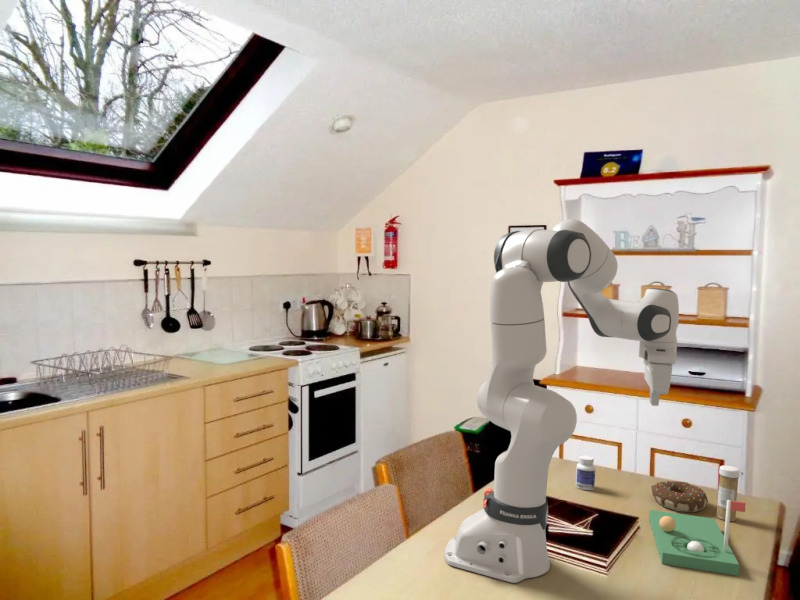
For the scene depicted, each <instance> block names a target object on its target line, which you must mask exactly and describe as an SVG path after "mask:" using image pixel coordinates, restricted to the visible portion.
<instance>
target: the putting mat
mask: <svg viewBox="0 0 800 600" xmlns="http://www.w3.org/2000/svg"><path fill="white" fill-rule="evenodd" d="M730 510H733V511H736V512H742V513H745V512H746V502H742V501H737V502H736V501H730V500H727V507H726V520H724V524H725V525H724V534H723V532H722V530H721V528H720V527H719V525H718V523H717V521H716V520H715V518H713V517H711V518H710V517H705V516H696V515H690V514H684V513H683V514H682V513H677V512H676V513H675V512H669V511H662V510H654V509H649V514H648V515H649V516H648V521H649V524H650V527H651V531H652V534H653V537H654V540H655V544H656V548H657V551H658V555H659V559H660V561H661V564H662V565H667V566H674V567H680V568H687V569H693V570H699V571H704V572H705V571H706V572H710V573H711V572H712V573H718V574H723V575H728V576H729V575H730V576H737V577H739V571H740V564H739V561H738V560H737V558H736V556H735V554H734V553H733V551H732V549H731V547H730V545H729V536H730V535H729V534H730V533H729V531H730V522H731V521H730ZM664 516H669V517H671V518H673V519H674V521H675V523H676V527H675V529H674V530H673V531H671V532H666V531H664V530H663V529H662V528H661V527H660V524H659V522H660V519H661V518H662V517H664ZM691 541H697V542H699V543H701V544H702V546H703V548H704V552H703V553H700V552H694V551H691V550H688V549H687V545H688V543H689V542H691Z"/></svg>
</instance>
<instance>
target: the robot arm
mask: <svg viewBox="0 0 800 600" xmlns="http://www.w3.org/2000/svg"><path fill="white" fill-rule="evenodd" d="M493 264H494V269H495V273H494V276H492V279H491V283H490V284H491V285H490V294H489V297H490V298H489V318H490V333H491V347H492V351H491V352H492V353H491V354H492V357H491V358H492V359H491V367H490V371H489V373H488V374H489V375H488V378H487V379H486V380H485V381H484V382H483V383H482V384H481V385H480V387H479V389H478V391H477V396H476V404H477V407H478V409H479V412H480V413H481V414H482V415H483V417H486V419H488V420H489V421H490V422H491V423H492V424H494V425H495V426H498V427H500V428H502V429H504V430H507V431H508V432H510V435H511V437H510V443H509V445H508V448H507V450H505V451H503V452H502V453H500V454H499V455H498V456H497V458H496V460H495V462H494V475H493V476H494V479H493V481H494V482H493V489H492V487H487V488H486V489H484V493H483V497H484V498H483V504H482V505H483V508H481V509H480V510H478V511H476V512H475V513H472V514H470V515H468V516H467V517H466V518H465V519H464V520H463V521H462V522H461V523H460V526H459V528H458V530H457V533H456V535H455V536H453V537H452V538H450V540H449V541H448V543H447V544H446V546H445V550H444V560H445V562H446V563H447V564H448V565H449V566H452V567H455V568H459V569H462V570H464V571H465V570H466V571H468V572H469V571H470V572H473V573H476V574H479V575H484V576H487V577H490V578H494V579H498V580H501V581H505V582H507V583H513V584H516V583H518V582H519V583H520V582H521V581H524V580H526V579H530V578H536V577H540V576H542V575H544V574H546V573H547V572H548V571H549V570H550V568H551V562H550V559H549V554H548V548H547V547H548V546H547V537H546V528H547V525H548V520H549V519H548V517H549V505H548V499H547V485H548V475H549V468H550V463H551V461H552V458H553V455H554V453H555V451H556V450H557V449H558V448H559V447H560V446H561V445H562V444H565V443H566V442H567V441H568V440H569V439H570V438H571V437H572V435H573V434H574V432H575V430H576V427H577V422H578V421H577V420H578V419H577V418H578V417H577V416H578V415H577V411H576V408H575V406H574V405H573V403H572V402H571V401H570V400H568V399H567V398H565V397H563V396H562V395H561V394H559V393H558V392H556V391H554V390H551V389H549V388H545V387H542V386H539V385H535V383H534V373H535V368H536V366H537V365H538V364H540V363H541V362H542V361H543V360H544V359H545V357H546V355H547V350H548V349H547V337H546V322H545V312H544V311H545V310H544V303H543V299H542V293H541V292H542V289H543V288H542V287H543V284H544V283H551V282H552V283H553V282H554V283H555V282H561V283H567V285H568V287H569V290H570V292H571V293H572V295H573V297H574V298H575V299H576V301H577V302H578V304H579V305H580V307H581V309H582V310H583V311H584V313H585V315H586V316H587V318H588V321H589V324H590V326H591V329H592V330H593V332H594V333H595V335H596V336H598V337H601V338H617V339H622V340H623V339H624V340H631V341H638V342H639V345H638V346H639V348H638V349H639V351H638V357H640V358H642V359H643V364H644V373H643V375H644V376H643V378H644V381H645V382H646V384H647V386H648V387H649V402H650V404H651V406H654V407H658V406H659V403H660V396H661V395H664V396H666V395H668V393H669V390H670V387H671V380H672V375H673V374H672V373H673V365H675V364H676V361H677V349H678V337H677V329H678V327H679V318H680V313H679V311H680V309H679V298H678V295H677V293H676V292H674V291H673V290H669V289H667V288H666V289H665V288H664V289H663V288H657V287H655V288H654V287H651V288H647V289H646V290H645V292H644V296H643V297H642V298H640V299H639V300H637V301H631V300H619V299H612V298H609V297H606V296H604V294H603V293H602V291H603V290H605V289H606V288H607V287H609V286H610V285H611V283H612V282H613V281H614V280H615V277H616V275H617V272H618V260H617V258H616V256H615V254H614V252H613V251H612V249H611V248H610V247H609V246H608V244H607V243H606V242H605V241H604V240H603V239H602V237H600V236H599V234H598V233H596V231H594V230H593V229H592V228H591V227H590V226H588V225H587V224H585V223H584V222H583V221H582V220H579V219H575V218H570V219H568V218H567V219H565V220H564V219H563V220H562V221H560V222H558V223H557V224H556V225H555V226H553V227H552V229H543V228H537V229H536V228H535V229H528V230H522V231H521V230H515V231H512V232H508V233H506V234H504V235H502V236H501V237H500V238H499V239H498V241H497V243H496V246H495V248H494V253H493Z"/></svg>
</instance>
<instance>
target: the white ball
mask: <svg viewBox="0 0 800 600" xmlns="http://www.w3.org/2000/svg"><path fill="white" fill-rule="evenodd" d="M687 549H688V550H691V551H694V552H700V553H703V552H704V548H703V546H702V544H701V543H699V542H697V541H691V542H689V543H688V545H687Z"/></svg>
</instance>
